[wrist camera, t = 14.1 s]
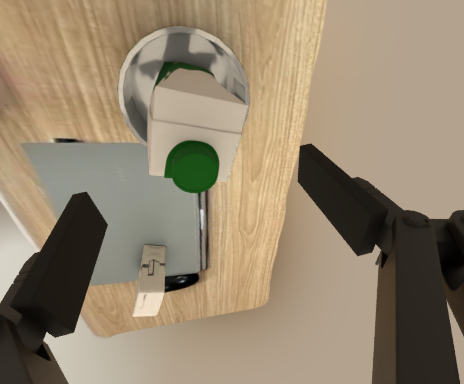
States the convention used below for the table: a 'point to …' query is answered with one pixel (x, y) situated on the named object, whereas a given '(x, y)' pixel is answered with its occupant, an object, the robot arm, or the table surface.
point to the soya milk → (192, 127)
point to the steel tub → (174, 50)
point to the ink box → (150, 281)
